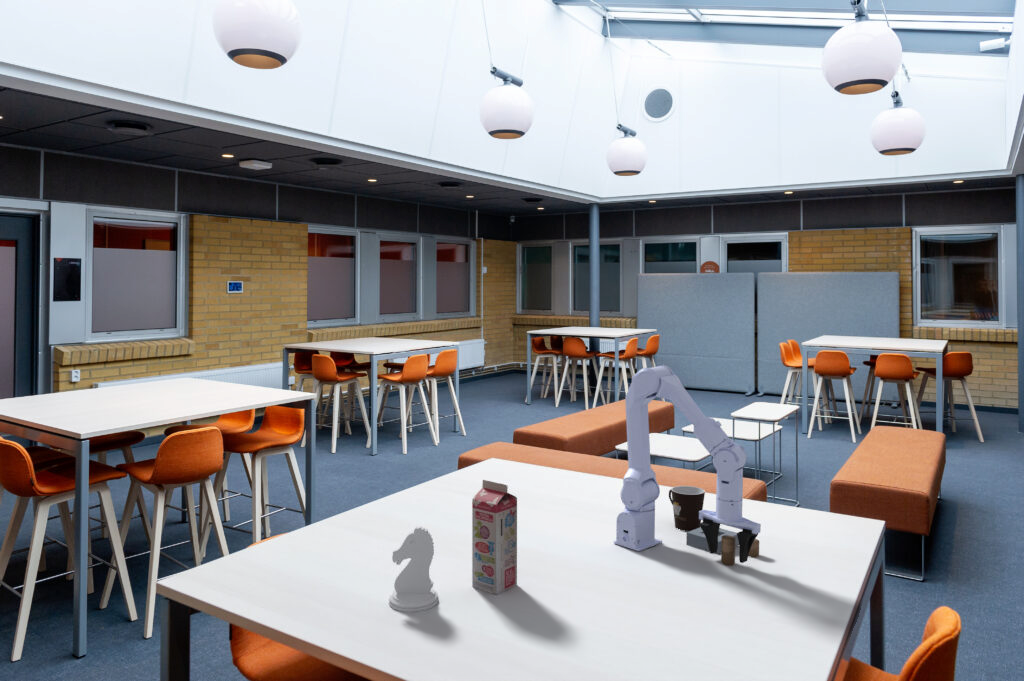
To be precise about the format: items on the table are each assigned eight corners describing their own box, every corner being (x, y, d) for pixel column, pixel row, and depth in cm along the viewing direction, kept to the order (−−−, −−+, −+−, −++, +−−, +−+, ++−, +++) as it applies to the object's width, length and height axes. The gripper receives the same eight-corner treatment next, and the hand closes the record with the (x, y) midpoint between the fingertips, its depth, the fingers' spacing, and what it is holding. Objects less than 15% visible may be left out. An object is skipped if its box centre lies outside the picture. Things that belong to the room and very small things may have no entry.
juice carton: (492, 577, 154) (492, 476, 153) (516, 584, 150) (517, 481, 149) (472, 586, 149) (472, 482, 148) (496, 594, 145) (496, 488, 143)
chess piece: (392, 591, 146) (391, 519, 146) (440, 591, 147) (439, 519, 146) (385, 612, 137) (384, 535, 136) (436, 611, 137) (436, 535, 136)
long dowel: (730, 566, 160) (731, 540, 160) (718, 563, 162) (719, 537, 162) (737, 563, 162) (738, 537, 162) (725, 559, 164) (726, 534, 164)
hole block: (718, 554, 168) (719, 541, 168) (686, 544, 175) (686, 532, 174) (738, 545, 174) (739, 533, 174) (706, 536, 181) (707, 524, 181)
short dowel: (754, 558, 166) (755, 543, 165) (743, 554, 168) (743, 540, 168) (761, 555, 168) (761, 540, 167) (749, 551, 170) (750, 537, 170)
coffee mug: (708, 532, 183) (708, 494, 183) (674, 532, 184) (675, 494, 183) (697, 519, 195) (697, 483, 194) (665, 518, 195) (666, 482, 195)
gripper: (768, 501, 159) (766, 561, 160) (710, 488, 170) (709, 544, 170) (751, 507, 154) (750, 569, 155) (694, 494, 165) (693, 551, 166)
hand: (728, 557), depth 162 cm, fingers open, 7 cm apart
